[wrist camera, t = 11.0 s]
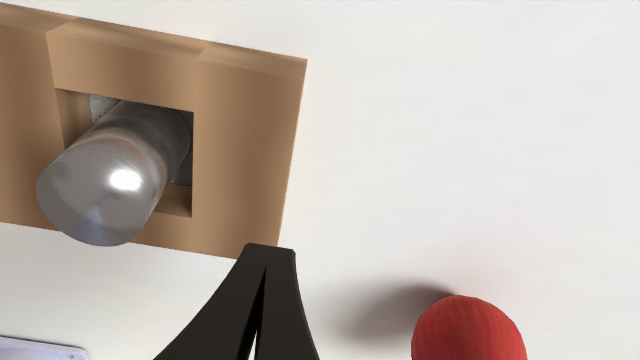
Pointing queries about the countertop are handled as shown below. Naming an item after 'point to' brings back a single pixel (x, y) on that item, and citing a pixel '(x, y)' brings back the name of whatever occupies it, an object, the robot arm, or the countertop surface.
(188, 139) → the brushed metal cylinder
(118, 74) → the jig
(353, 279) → the countertop surface
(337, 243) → the countertop surface
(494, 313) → the onion
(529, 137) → the countertop surface
